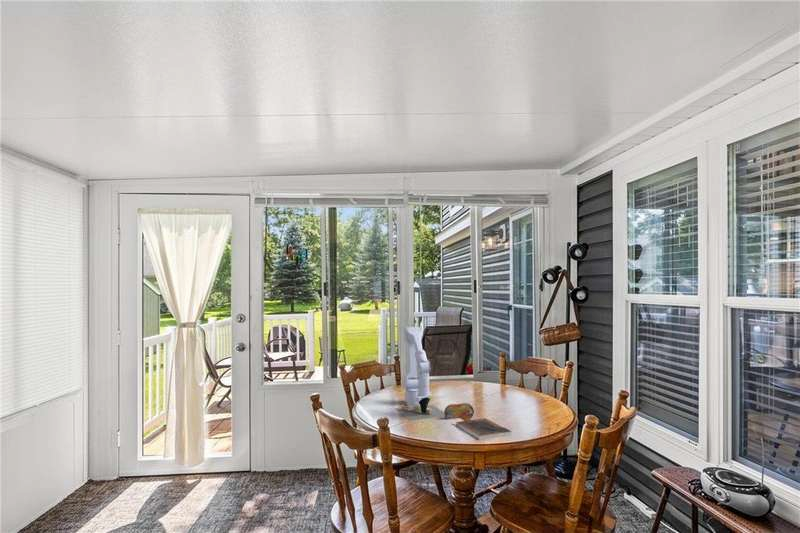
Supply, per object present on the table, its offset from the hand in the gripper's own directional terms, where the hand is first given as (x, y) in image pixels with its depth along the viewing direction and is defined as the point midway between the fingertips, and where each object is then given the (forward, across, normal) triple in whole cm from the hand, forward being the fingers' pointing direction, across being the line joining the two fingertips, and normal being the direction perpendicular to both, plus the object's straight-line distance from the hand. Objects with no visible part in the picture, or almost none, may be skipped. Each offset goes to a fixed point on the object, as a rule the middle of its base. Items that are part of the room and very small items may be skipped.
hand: (423, 412), depth 226 cm
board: (+2, +3, +3) cm, 5 cm away
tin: (+3, +4, -18) cm, 18 cm away
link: (0, +3, +6) cm, 6 cm away
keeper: (+1, +5, +7) cm, 9 cm away
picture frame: (+3, -5, -33) cm, 33 cm away
